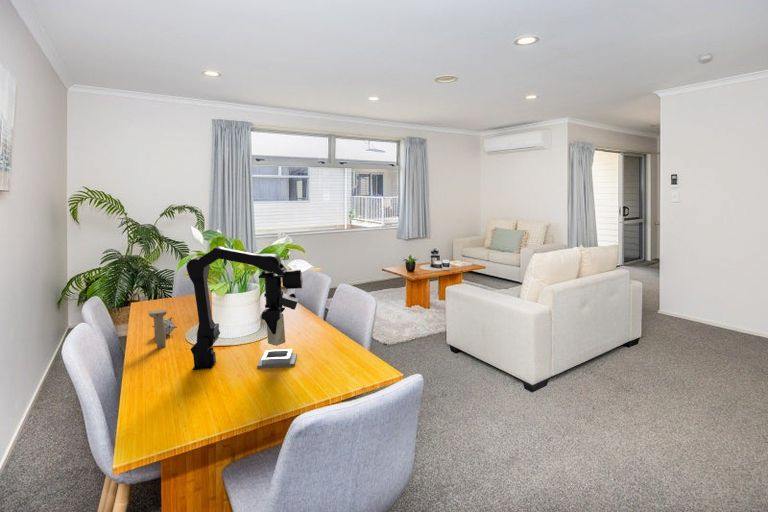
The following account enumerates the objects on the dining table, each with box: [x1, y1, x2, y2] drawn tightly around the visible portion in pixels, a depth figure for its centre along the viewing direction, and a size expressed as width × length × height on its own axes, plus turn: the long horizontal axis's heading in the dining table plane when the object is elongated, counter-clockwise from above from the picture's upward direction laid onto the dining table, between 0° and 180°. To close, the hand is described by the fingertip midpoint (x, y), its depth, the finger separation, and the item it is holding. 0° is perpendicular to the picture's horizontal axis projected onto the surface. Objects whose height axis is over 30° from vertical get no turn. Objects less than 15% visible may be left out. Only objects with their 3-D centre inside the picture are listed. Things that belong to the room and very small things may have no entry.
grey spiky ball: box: [151, 317, 178, 337], centre depth 187 cm, size 9×8×10 cm
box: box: [265, 312, 286, 347], centre depth 154 cm, size 5×4×11 cm
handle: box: [148, 309, 168, 349], centre depth 172 cm, size 5×6×15 cm
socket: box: [256, 348, 298, 369], centre depth 156 cm, size 13×10×3 cm
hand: (275, 331), depth 154 cm, fingers closed on box, 6 cm apart
